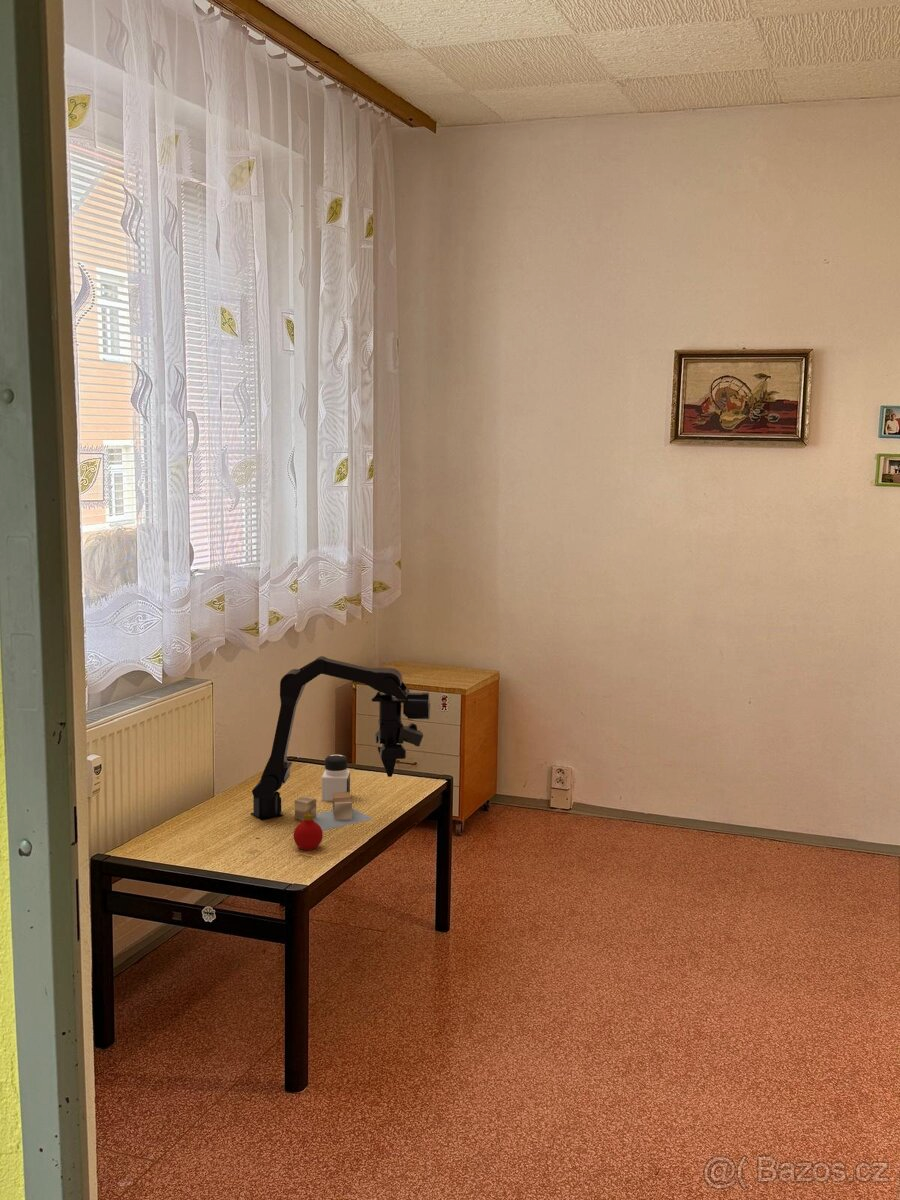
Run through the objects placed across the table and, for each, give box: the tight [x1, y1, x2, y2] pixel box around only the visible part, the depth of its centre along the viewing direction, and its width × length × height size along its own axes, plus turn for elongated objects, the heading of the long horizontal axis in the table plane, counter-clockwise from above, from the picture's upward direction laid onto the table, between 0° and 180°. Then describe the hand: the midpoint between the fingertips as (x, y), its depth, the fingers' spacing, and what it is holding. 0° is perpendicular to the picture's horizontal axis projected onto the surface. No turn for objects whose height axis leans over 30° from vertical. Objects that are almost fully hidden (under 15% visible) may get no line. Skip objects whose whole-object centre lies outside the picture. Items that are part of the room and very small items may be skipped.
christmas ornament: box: [293, 810, 324, 851], centre depth 276 cm, size 7×7×10 cm
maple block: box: [294, 795, 317, 822], centre depth 298 cm, size 4×4×5 cm
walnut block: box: [332, 791, 353, 820], centre depth 302 cm, size 4×4×9 cm
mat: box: [300, 808, 374, 832], centre depth 298 cm, size 16×12×1 cm
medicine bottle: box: [321, 754, 351, 802], centre depth 315 cm, size 7×7×12 cm
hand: (389, 776), depth 297 cm, fingers closed
